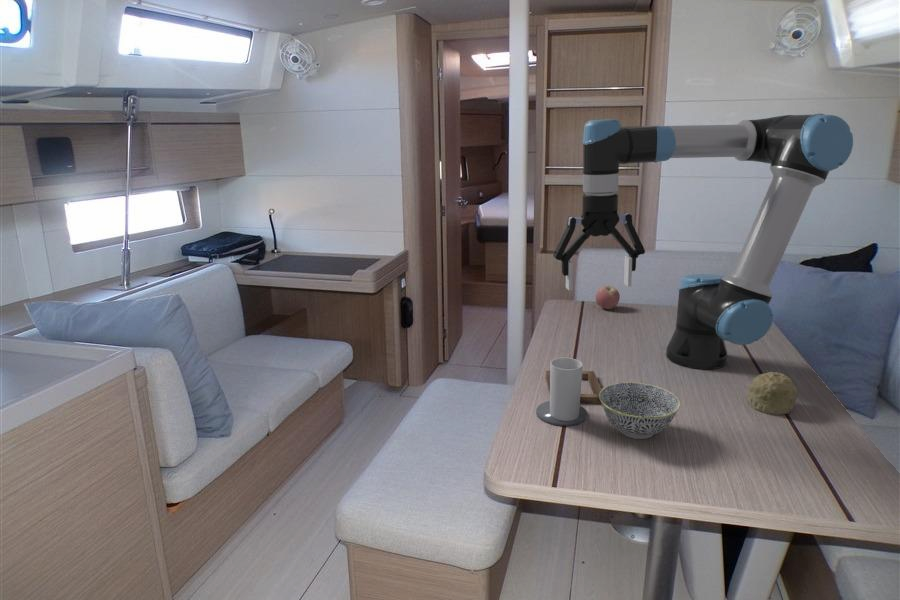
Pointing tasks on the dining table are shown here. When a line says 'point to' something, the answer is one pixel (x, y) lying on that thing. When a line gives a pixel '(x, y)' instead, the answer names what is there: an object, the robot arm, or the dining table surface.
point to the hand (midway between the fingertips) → (598, 287)
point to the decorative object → (772, 393)
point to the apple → (607, 297)
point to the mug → (565, 388)
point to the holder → (593, 383)
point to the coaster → (545, 416)
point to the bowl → (639, 408)
